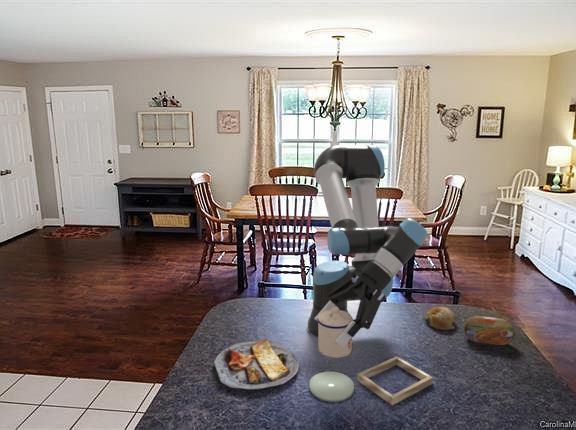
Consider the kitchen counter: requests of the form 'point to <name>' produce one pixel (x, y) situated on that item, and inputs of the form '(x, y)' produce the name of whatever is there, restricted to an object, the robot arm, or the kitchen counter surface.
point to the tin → (489, 330)
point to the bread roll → (440, 318)
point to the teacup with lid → (333, 332)
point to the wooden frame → (402, 394)
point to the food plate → (256, 364)
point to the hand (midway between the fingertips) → (327, 332)
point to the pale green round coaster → (331, 386)
